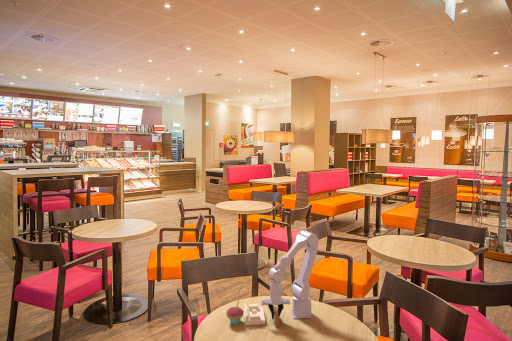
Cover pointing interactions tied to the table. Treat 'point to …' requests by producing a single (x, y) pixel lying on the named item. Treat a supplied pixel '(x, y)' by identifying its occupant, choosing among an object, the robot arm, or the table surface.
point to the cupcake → (235, 314)
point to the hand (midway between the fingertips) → (275, 318)
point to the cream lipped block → (253, 314)
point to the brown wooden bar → (276, 317)
